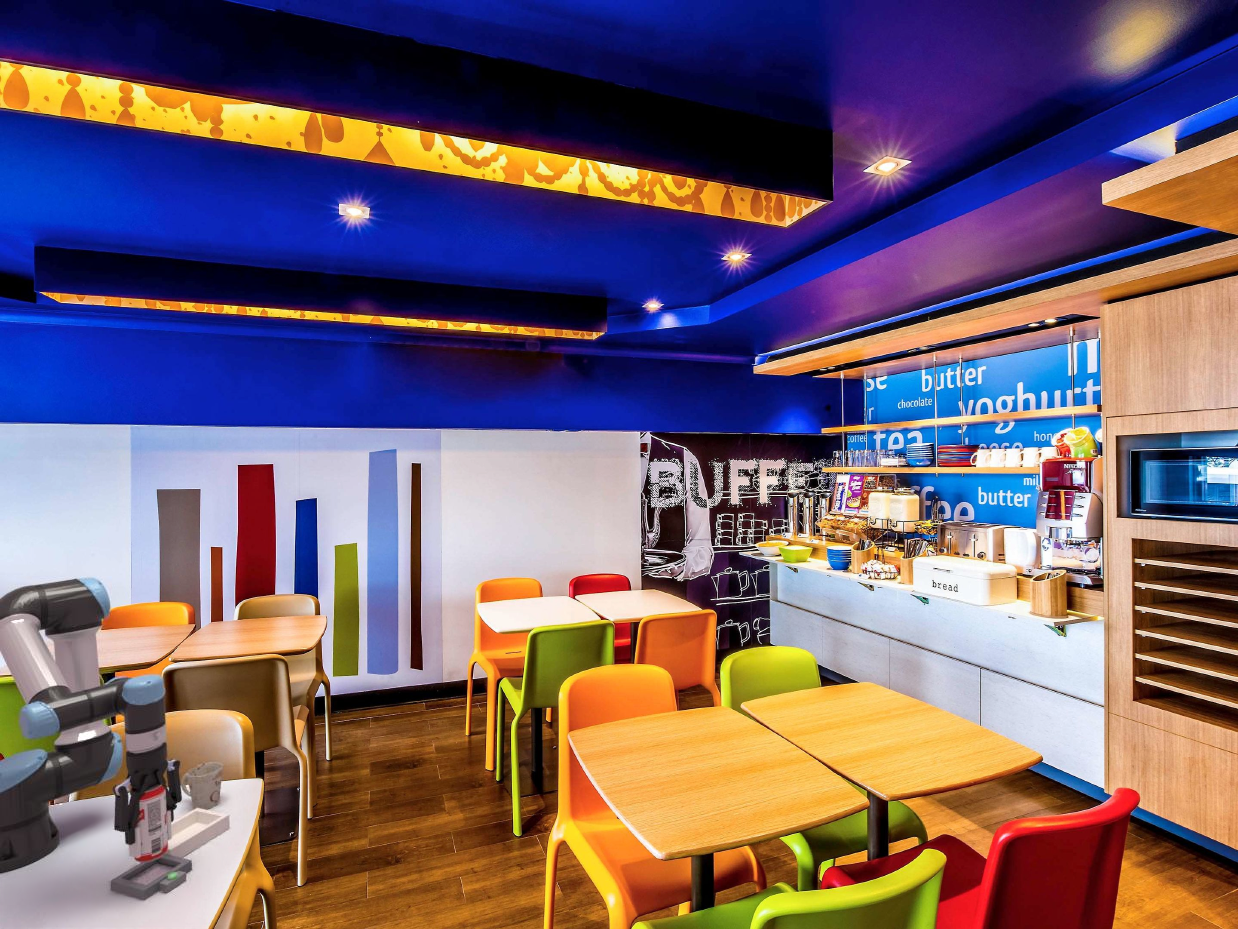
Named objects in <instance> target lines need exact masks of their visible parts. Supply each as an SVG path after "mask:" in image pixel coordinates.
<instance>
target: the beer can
mask: <svg viewBox="0 0 1238 929" xmlns="http://www.w3.org/2000/svg"><path fill="white" fill-rule="evenodd" d="M138 791H140V790H138ZM135 792H136V791H135ZM139 805H140V813H139V817H138V821H137V825H136V827H140V836H141V857H139V858H135V857H133V858H134V860H135V861H136V862H138V863H148V862H152V861H154V860H157V859H159V858H160V857H162V856H163V855H164V853H165V852H166V851H167V849H168V832H167V810H166V790H165V788H164V786H162V784H161V785H158V784H157V785H155V786H152V787H150V788H149V789H147V791H145V795H144V796H142V797H141V798H140V802H139Z"/></svg>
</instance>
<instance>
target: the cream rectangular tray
mask: <svg viewBox="0 0 1238 929" xmlns="http://www.w3.org/2000/svg"><path fill="white" fill-rule="evenodd" d="M230 823H231V822H230V814H227V813H222V812H218V811H213V810H210V809H207V810H205V809H200V808H196V809H194V808H193V809H192V810H191V811H189V812H187V813H185V814H184V815H182V816H180V817H178V818H177V819H175V820H173V822H171V831H172V839H170V840H168V849H167V851H166V852H165V853H164V854H167V855H172V856H176V857H180V858H185V856H188V855H189V854H190V853H192V852H194V851H195V850H197V849H199V848H200V847H202V846H204V845H205V844H206V843H208V842H209V841H211V840H213V839H215V838H217V837H218V836H220V835H221V834H223V833H225V832H226V831H228V830H229V829H231V828H230V827H231V826H230Z"/></svg>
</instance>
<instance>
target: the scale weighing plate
mask: <svg viewBox="0 0 1238 929" xmlns="http://www.w3.org/2000/svg"><path fill="white" fill-rule="evenodd" d="M171 869H173V867H169V866H165V865H162V864H158V863H156V864H155V865H153V866H151V867H150V868H148V869H146V870H145V871H143V872H141V873H140V874H138V875H137V876H135V877H133V878H132V879H130V881H133V882H137V883H140V884H144V885H147V884H149V883H150V882H152V881H154V880H155V879H157V878H158V877H160V876H162V875H163V874H165V873H166V872H168V871H169V870H171Z"/></svg>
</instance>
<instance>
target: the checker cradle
mask: <svg viewBox="0 0 1238 929" xmlns="http://www.w3.org/2000/svg"><path fill="white" fill-rule="evenodd" d="M192 862H193V861H192V860H191V859H188V858H185V857H183V858H180V857H176V856H172V855H167V854H164V855H163V856H162V857H160V858H159V859H157V860H154V861H152V862H148V863H140V862H138V864H136V865H135V866H133V867H131V868H129V869H127V870H126V871H124V872H123V873H121V874H120V875H118V876H116V877H114V878H112V879H111V880H110V881H109V882H110V883H109V884H110V885H109V886H110V888H109V889H110V892H115V893H118V894H121V895H125V896H128V897H131V898H135V899H138V900H141V901H146V900H148V899H149V898H151V897H153V896H154V895H156V894H157V893H159V892H161V893H166V894H169V892H171V891H172V890H174V889H176V888H177V887H179V886H180V885H182V884H183V883H184V882H186V881H187V874H188V873H189V872H191V871H193V863H192ZM156 863H158V864H162V865H165V866H169V867H173V869H171V870H169V871H168V872H166V873H165V874H163V875H162V876H160V877H158V878H157V879H155V880H154V881H152V882H150V883H149V884H147V885H144V884H140V883H137V882H133V881H130V879H132V878H133V877H135V876H137V875H138V874H140V873H141V872H143V871H145V870H146V869H148V868H150V867H151V866H153V865H155V864H156Z"/></svg>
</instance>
